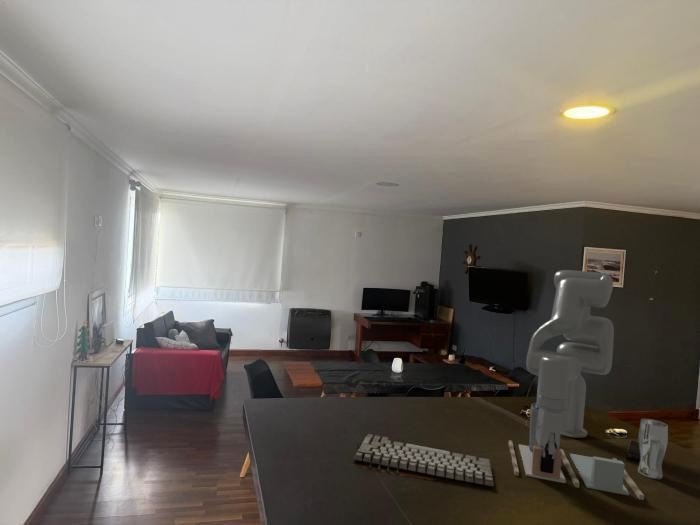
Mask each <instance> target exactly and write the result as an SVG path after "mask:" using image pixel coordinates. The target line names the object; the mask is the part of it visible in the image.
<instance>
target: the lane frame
mask: <svg viewBox="0 0 700 525" xmlns="http://www.w3.org/2000/svg"><path fill="white" fill-rule="evenodd" d="M508 448H509V449H508V450H509V453H511V454H510V458H512V459H511V463H512V464H511V465H512V467H513V468H512V469H513V473H514V476H515V477H519V476H520V471H519V470H520V469H519V465H518V463H517V462H518V461H517V457H516V452H515V449H514V444H513V440H512V439H511V440H510V439H509V440H508ZM558 450H561V452H562V459H563V460H562V459H561V460H562V463H563V464H564V466H566V467H565V469H566V468H567V469H566V471H567V470H568V471H567V473H568V472H569V473H568V475H569V477H570V479H571V481H572V484H573V487H574V488H578V489H579V488H580V485H581V484H580V481H579V479H578V477H577V475H576V473H575V471H574V469H573V468H572V465H571V463H570V461H569V459H568V458H567V455H566V454H565V451H564V449H563V448H558ZM612 460H618V459H617V458H616V457H612ZM623 480H625V482H626V483H627V485H628V486H629V487H630V488H631V490H632V492H633V493H634V494H635V496H636V497H637V498H638V499H639V500H640V501H641V500H642V501H644V500H645V494H644V493H643V492H642V491H641V489H640V488H639V487H638V485H637V484H636V482H635V481H634V480H633V479H632V477H631V476H630V475H629V474H628V472H627V470H626V469H625V468H624V478H623Z"/></svg>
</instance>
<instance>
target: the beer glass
mask: <svg viewBox="0 0 700 525" xmlns="http://www.w3.org/2000/svg"><path fill="white" fill-rule="evenodd" d="M668 429H669V425H668V424H667V423H665V422H662V421H660V420H655V419H650V418H642V419H640V424H639V430H638V448H639V464H638V467H637V473H638V474H640V475H641V476H643V477H646V478H649V479H652V480H653V479H654V480H662V479H663V476H664V475H663V461H664V458H665V455H666V452H667V451H666V450H667V446H668V442H669V441H668V440H669V438H668V437H669V430H668Z"/></svg>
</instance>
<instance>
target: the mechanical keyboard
mask: <svg viewBox="0 0 700 525" xmlns="http://www.w3.org/2000/svg"><path fill="white" fill-rule="evenodd" d="M356 449H357V450H356V453H355V456H354V459H353V460H352V464H353V465H355V467H356V468H360V469H365V470H371V471H376V472H379V473H380V472H382V473H386V474H391V475H396V476H403V477H412V478H416V479H422V480H428V481H441V482H442V481H443V482H449V483H455V484H458V485H464V486H469V487H473V488H480V489H486V490H489V491H494V490H495V486H494V477H493V472H492V465H491V460H490V458H482V457H479V458H477V456H473V455H469V454H465V457H464V454H462V453H458V452H452V453H451V452H450V451H449V450H443V449H438V448H433V447H428V446H421V445H417V444H412V443H405V445H404V442H399V441H393V442H392V441H391V440H390V439H389V437H387V436H382V438H381V436H380V435H374V434H370V433H368V434H367V435H366V436H365V437H364V440H363V442H359V444H358V445H357V448H356ZM477 459H478V460H477Z"/></svg>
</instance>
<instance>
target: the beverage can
mask: <svg viewBox="0 0 700 525" xmlns="http://www.w3.org/2000/svg"><path fill="white" fill-rule="evenodd" d="M538 410H539V407H537V406H536V402H534V403H532V404H531V405H530V416H529V417H530V418H529V423H530V424H529V444H528V446H529V449H530V451H531V452H532V453H533V446H538V447H540V446H539V444H538V442H537V439H536V436H535V433H536V425H537V417H538Z"/></svg>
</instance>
